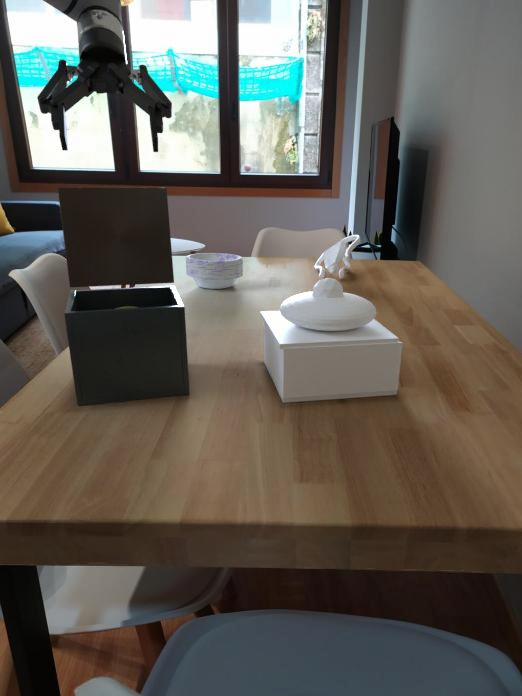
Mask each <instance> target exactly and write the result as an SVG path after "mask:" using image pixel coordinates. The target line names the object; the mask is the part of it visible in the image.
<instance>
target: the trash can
mask: <svg viewBox="0 0 522 696" xmlns="http://www.w3.org/2000/svg"><path fill="white" fill-rule="evenodd" d="M125 306H133V307H138V308H124V309H116V308H119V307H125ZM63 315H64V316H63V317H64V322H65V328H66V329H65V330H66V336H67V344H68V350H69V357H70V364H71V370H72V371H71V372H72V378H73V384H74V391H75V398H76V405H77V406H86V405H96V404H106V403H116V402H117V403H118V402H127V401H136V400H146V399H155V398H157V399H158V398H166V397H177V396H186V395H190V377H189V375H190V374H189V358H188V357H189V356H188V342H187V340H188V339H187V325H186V324H187V323H186V307H185V305H184V303H183V300H182V299H181V297H180V295H179V293H178V291H177V288H176V286H175V285H158V286H137V287H136V286H135V287H134V286H133V287H115V288H113V287H112V288H95V289H94V288H93V289H73V290H72V289H71V290H70V291H69V294H68V299H67V302H66V306H65V310H64V312H63Z"/></svg>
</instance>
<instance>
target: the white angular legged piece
mask: <svg viewBox="0 0 522 696" xmlns="http://www.w3.org/2000/svg"><path fill="white" fill-rule="evenodd" d="M352 241H353V242H352ZM349 242H352V243H350V244H349V246H348V247H347V243H349ZM360 243H361V237H360V235H359V234H352V235H348V236H346V237H344V238H342V239H340V240H339V241H337V242H336V243H334V244H333V245H331V246H330V247H329V248H328V249H326V250H324V251H323V252H322V254H321V255H320V257H318V259H317V261H316V262H315V264H314V269H316V270H317V271H319V274H318V277H319V278H321V279H325V278H324V277H325V275H326V270H327V272H328V273H329V274H330V275H336V274H337V272H338V279H339V280H342V279H344V278H345V272H346V273H347V272H348V271H350V270H351V269H352V266H351V263H350V261H351V259H350V254H351V253H352V252H353V250H354V249H355V248H356V247H357V246H358V245H359V244H360ZM342 262H343V264H344V265H345V266H343V267H341V268H340V266H341V264H342ZM322 263H323V264H324V266H325V268H324V267H323V266H321V265H322ZM339 268H340V269H339Z"/></svg>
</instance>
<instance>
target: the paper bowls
mask: <svg viewBox="0 0 522 696" xmlns="http://www.w3.org/2000/svg"><path fill="white" fill-rule="evenodd" d="M243 259H244V258H243V257H242V255H238V254H232V253H225V252H224V253H223V252H221V253H220V252H200V253H192V254H188V255H186V256H185V273H186V275H187V276H188V277H190V278H192V279H193V282H194V283H195V285H196V286H197V287H199V288H203V289H209V290H219V289H227V288H231V287H233V286H234V285H235V283H236V281H237V279H239V278H241V277H243V275H244V269H243V268H244V265H243V264H244V261H243Z"/></svg>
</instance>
